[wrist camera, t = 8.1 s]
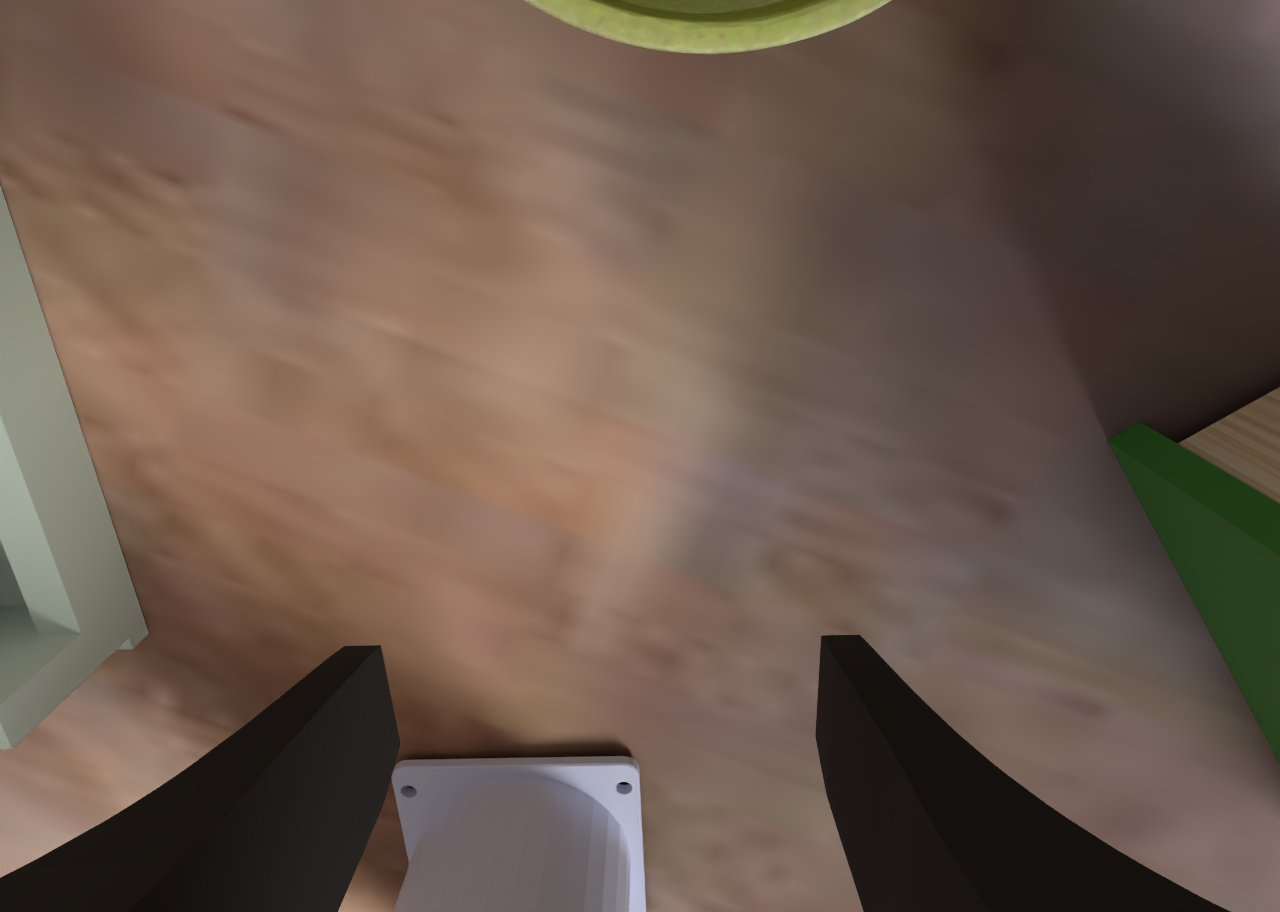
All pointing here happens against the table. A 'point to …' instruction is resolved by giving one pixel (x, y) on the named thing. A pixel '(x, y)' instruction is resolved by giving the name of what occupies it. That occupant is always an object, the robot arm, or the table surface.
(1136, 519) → the table surface
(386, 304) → the table surface
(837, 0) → the plant pot
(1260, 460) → the hardback book
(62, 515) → the holder
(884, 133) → the table surface
